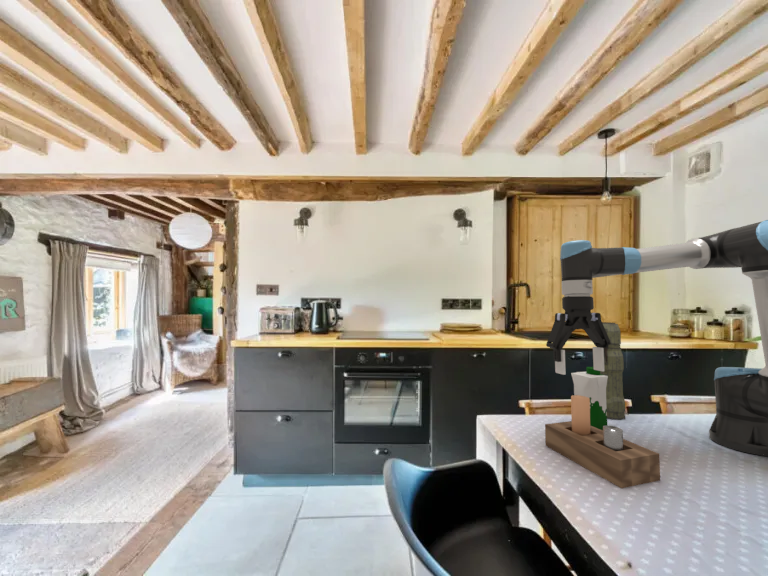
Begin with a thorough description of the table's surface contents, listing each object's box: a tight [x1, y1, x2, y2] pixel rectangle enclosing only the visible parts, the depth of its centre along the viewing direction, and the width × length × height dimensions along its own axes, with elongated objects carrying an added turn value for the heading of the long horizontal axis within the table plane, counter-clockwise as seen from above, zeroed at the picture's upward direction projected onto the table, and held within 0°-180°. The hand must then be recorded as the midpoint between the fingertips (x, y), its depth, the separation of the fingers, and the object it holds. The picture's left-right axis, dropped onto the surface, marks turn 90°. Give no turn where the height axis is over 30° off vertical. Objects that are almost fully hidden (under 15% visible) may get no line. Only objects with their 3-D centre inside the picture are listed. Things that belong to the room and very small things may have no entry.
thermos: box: [600, 321, 626, 421], centre depth 120 cm, size 9×12×35 cm
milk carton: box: [570, 366, 608, 430], centre depth 108 cm, size 9×9×20 cm
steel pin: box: [603, 425, 624, 451], centre depth 78 cm, size 4×4×10 cm
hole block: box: [544, 420, 661, 489], centre depth 82 cm, size 12×22×7 cm, turn 16°
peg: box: [570, 394, 591, 436], centre depth 87 cm, size 4×4×15 cm
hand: (580, 372), depth 88 cm, fingers open, 13 cm apart
